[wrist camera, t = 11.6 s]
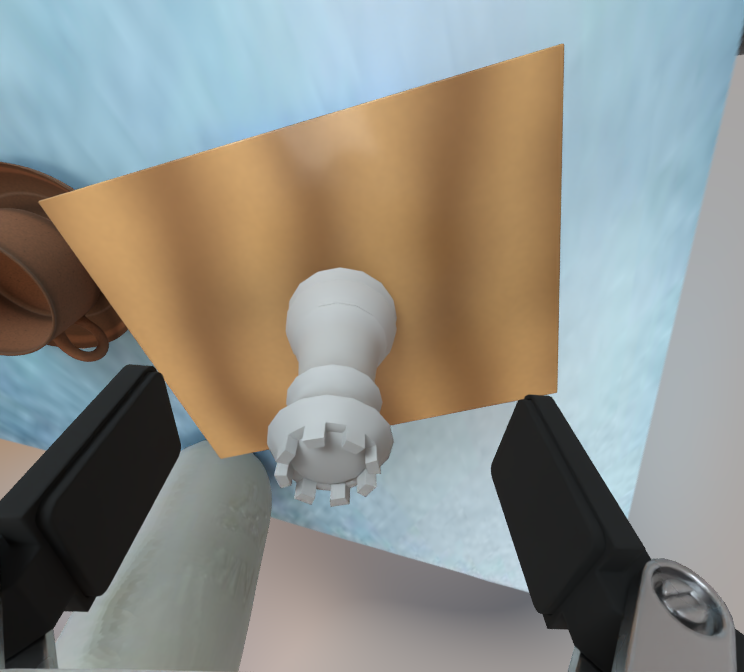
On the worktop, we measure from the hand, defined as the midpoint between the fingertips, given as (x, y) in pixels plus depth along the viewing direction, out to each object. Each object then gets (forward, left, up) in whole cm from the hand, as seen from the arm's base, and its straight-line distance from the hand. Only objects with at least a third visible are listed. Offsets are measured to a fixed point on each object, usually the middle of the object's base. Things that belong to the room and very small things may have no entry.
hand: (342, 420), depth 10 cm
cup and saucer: (+19, +3, -17) cm, 26 cm away
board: (0, 0, -8) cm, 8 cm away
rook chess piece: (0, 0, -7) cm, 7 cm away
